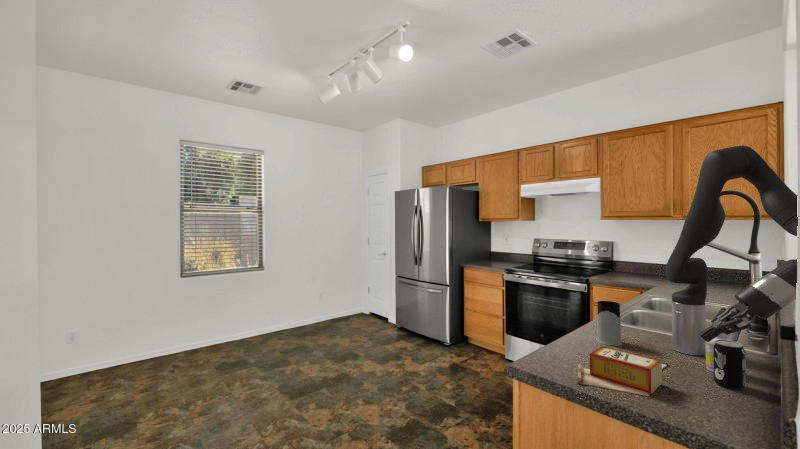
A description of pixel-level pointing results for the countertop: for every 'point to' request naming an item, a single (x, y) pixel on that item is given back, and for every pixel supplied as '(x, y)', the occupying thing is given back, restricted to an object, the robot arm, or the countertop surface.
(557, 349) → the countertop surface
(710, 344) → the supplement bottle
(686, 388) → the countertop surface
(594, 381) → the wooden board
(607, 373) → the baking soda box
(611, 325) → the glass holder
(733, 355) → the beverage can
